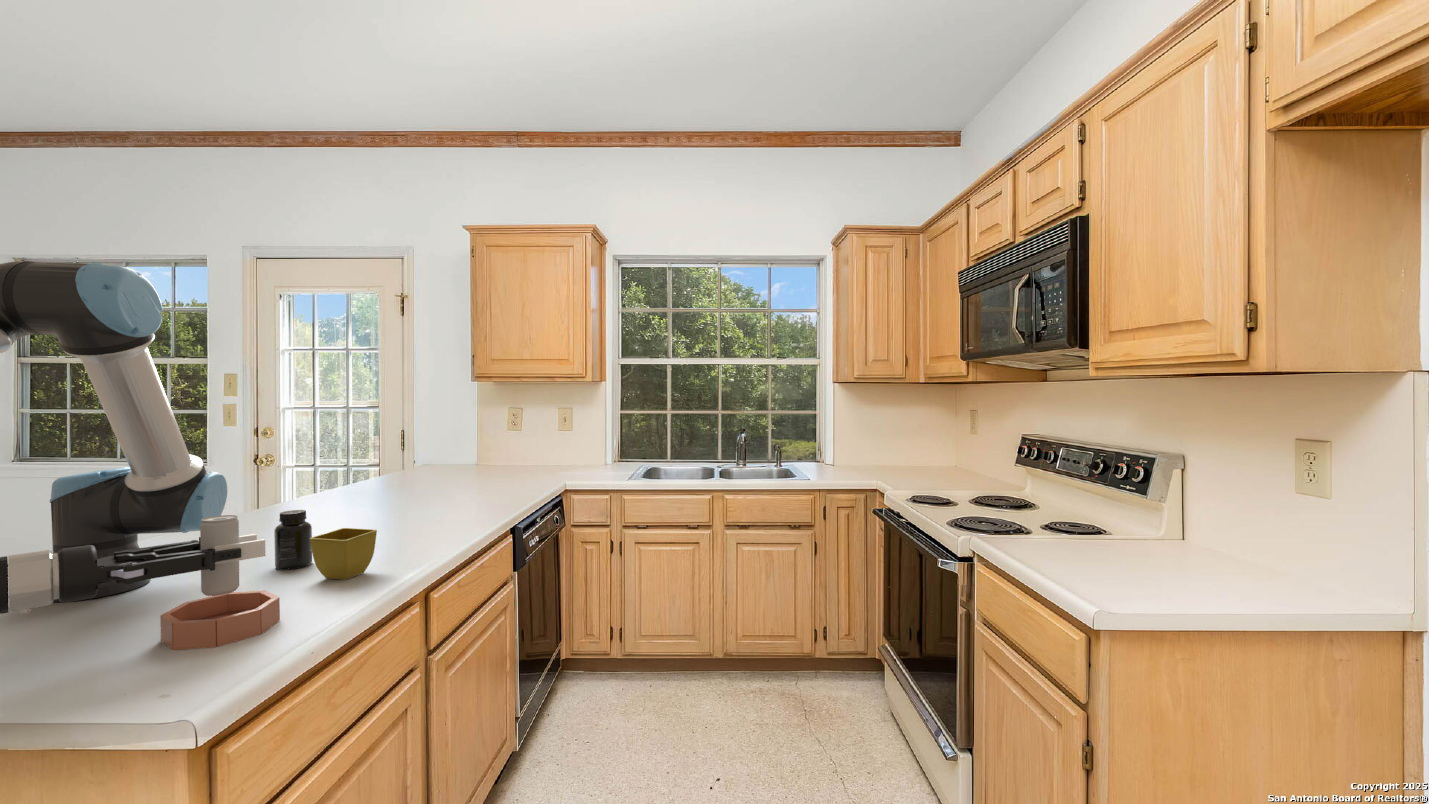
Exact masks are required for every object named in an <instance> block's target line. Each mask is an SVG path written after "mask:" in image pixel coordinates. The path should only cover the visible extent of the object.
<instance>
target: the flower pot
mask: <svg viewBox="0 0 1429 804" xmlns="http://www.w3.org/2000/svg"><path fill="white" fill-rule="evenodd" d="M377 532H378V530H377V529H369V528H368V529H367V528H352V527H342V528H339V529H336V530H332V531H329V532H325V533H322V534H318V535H314V536H312V538H310V543H311V548H312V559H313V562H314V564H315V566H316V568H317V570H318V572H320V574H321V575H322V576H323V577H324V578H325V579H331V580H344V581H346V580H349V579H351V578H354V577H357V576H358V575H361V574H363V573H365V572H366V570H367V569H368V567H369V565H370V563H371V562H372V560H373V557H374V554H375V548H376V541H377Z"/></svg>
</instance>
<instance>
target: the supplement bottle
mask: <svg viewBox="0 0 1429 804" xmlns="http://www.w3.org/2000/svg"><path fill="white" fill-rule="evenodd" d="M278 521H279V522H280V524H278V525H277V526H276V527H275V528H274V531H273V532H274V535H273V536H274V538H273V539H274V541H273V542H274V567H275V569H278V570H280V569H282V570H286V569H288V570H295V568H296V569H301V568H305V567H307V566H310V565H312V562H313V553H312V548H311V543H310V538H312V537H313V530H312V529H313V527H312V524H311V523H309V522H308V521H307V511H306V510H305V509H294V510H293V509H291V510H286V511H281V512H280V513H279V519H278Z"/></svg>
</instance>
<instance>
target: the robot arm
mask: <svg viewBox="0 0 1429 804" xmlns="http://www.w3.org/2000/svg"><path fill="white" fill-rule="evenodd" d="M162 312H163V303H162V300H161V299H160V296H159V294H158V292H157V290H156V289H155V287H154V285H153V284H152V283H151V282H150V281H149V280H148V278H146V276H144V275H143V274H141V273H140V272H137V271H135V270H134V269H132V268H130V267H126V266H122V265H110V264H107V263H106V264H105V263H100V262H99V263H98V262H97V263H96V262H93V263H92V262H91V263H84V262H83V263H79V262H78V263H74V262H38V261H37V262H35V261H25V260H22V261H21V260H20V261H10V262H9V261H8V262H4V263H0V354H3V353H6V352H7V351H9V350H10V348H12V345H14V343H15V342H16V341H17V340H19V339H21V338H23V337H26V336H31V335H53V336H55V337H56V338H57V340H58V343H59V345H60V347H61V348H62V351H63V352H64V353H65V354H66V355H68V356H71V357H74V358H77V359H80V360H81V362H82V365H83V367H84V369H85V371H86V374H87V375H88V378H89V380H90V383H91V385H92V387H93V389H94V391H95V393H96V395H97V398H98V400H99V402H100V404H101V406H102V408H103V411H104V414H105V416H106V418H107V420H108V423H109V424H110V427H111V428H112V430H113V433H114V436H115V437H116V440H117V442H118V444H119V446H120V449H121V451H122V453H123V455H124V458H125V461H126V462H127V464H128V466H124V467H116V468H110V469H103V470H102V469H101V470H95V471H88V472H82V473H75V474H70V475H69V474H68V475H65V476H60V477H59V478H57V479H55V480H54V481H53V482H52V484H51V494H50V499H49V503H50V513H51V514H50V515H51V542H52V551H51V550H49V549H47V550H40V551H32V552H25V553H17V554H10V555H5V556H0V614H1V615H2V614H8V613H11V612H20V614H24V615H26V614H29V613H31V612H32V611H31V610H32V609H34V608H35V609H36V608H42V607H46V606H51V605H53V603H54V602H55V603H56V602H58V603H63V604H65V603H71V602H76V601H77V602H78V601H84V600H85V601H86V600H90V599H97V598H102V597H103V598H104V597H107V596H112V595H116V594H121V593H124V592H128V591H132V590H135V589H137V588H140V587H142V586H145V585H146V584H148V583H150V582H151V580H153V579H159V578H164V577H169V576H175V575H181V574H187V573H192V572H194V573H195V572H198V571H200V572H201V570H208V569H210V571H213V570H215V565H216V564H222V563H228V562H234V561H239V562H240V561H245V560H249V559H257V558H262V557H266V539H264V538H262V539H258V537H257V536H258V534H256V533H251V534H246V535H239V543H235V544H228V545H222V546H215V547H214V549H212V548H211V549H206V550H201V541H200V536H199V537H198V540H197V539H191V540H188V541H182V542H181V541H180V542H173V543H165V544H160V545H154V546H147V547H146V546H145V547H140V546H139V543H138V539H139V538H138V535H143V534H146V535H147V534H168V533H169V534H172V533H182V534H187V533H190V532H199V531H200V524H201V523H202V521H201V520H202V519H204V518H208V517H213V516H222V514H223V512H224V509H225V506H226V503H227V499H228V498H227V497H228V484H227V480H226V477H225V476H224V475H223V474H222V473H220V472H216V471H209V472H208V471H207V469H206V467H205V464H204V461H203V460H202V458H201V457H199V456H197V455H194V454H190V453H189V451H188V447H187V445H186V443H185V441H184V438H183V435H182V432H181V431H180V430H181V429H180V426H179V425H178V422H177V420H176V418H175V414H174V412H173V410H172V408H171V404H170V401H169V400H168V397H167V394H166V392H165V388H164V386H163V384H162V381H161V379H160V376H159V374H158V371H157V367H156V366H155V364H154V361H153V359H152V356H151V354H150V351H149V348H148V347H149V346H150V345H151V344H152V342H153V341H154V340H155V337H156V335H155V333H156V332H157V331H158V330H159V328H160V327H161V324H162V321H163V316H162V314H161V313H162Z"/></svg>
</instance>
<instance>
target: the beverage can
mask: <svg viewBox="0 0 1429 804" xmlns="http://www.w3.org/2000/svg"><path fill="white" fill-rule="evenodd" d="M201 521H202V523H201V524H200V532H199V533H200V535H199V537H200V541H201V550H206V549H211V548H212V549H214V547H215V546H222V545H228V544H235V543H239V536H240V529H239V528H240V526H239V525H240V523H239V522H240V521H239V519H238V515H235V514H224V515H222V514H221V516H213V517H208V518H204V519H202V520H201ZM239 587H240V561H234V562H228V563H222V564H216V565H215V570H213V571H210V569H208V570H200V591H201V593H202V594H203V595H205V596H207V597H211V596H217V595H223V594H228V593H231V592H236V590H238V588H239Z"/></svg>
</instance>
